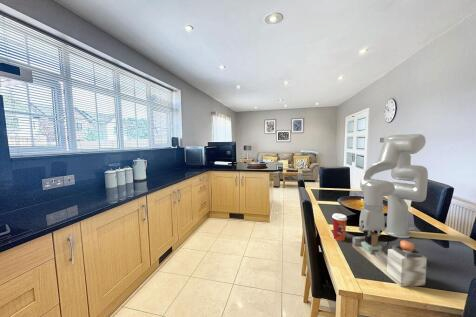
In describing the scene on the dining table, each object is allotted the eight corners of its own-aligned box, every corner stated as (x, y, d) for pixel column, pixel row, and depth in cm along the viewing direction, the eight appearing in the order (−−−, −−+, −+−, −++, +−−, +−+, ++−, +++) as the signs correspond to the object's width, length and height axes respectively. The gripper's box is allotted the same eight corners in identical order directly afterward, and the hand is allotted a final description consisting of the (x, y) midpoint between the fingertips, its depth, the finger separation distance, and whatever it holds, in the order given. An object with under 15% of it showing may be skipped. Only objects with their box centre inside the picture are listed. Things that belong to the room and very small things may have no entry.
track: (370, 245, 101) (371, 222, 100) (425, 285, 73) (427, 253, 72) (352, 246, 101) (353, 223, 100) (400, 286, 72) (402, 254, 71)
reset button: (406, 245, 77) (407, 240, 77) (416, 251, 73) (416, 245, 73) (397, 246, 77) (397, 240, 77) (406, 251, 73) (407, 245, 73)
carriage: (374, 247, 97) (374, 229, 96) (381, 252, 92) (382, 234, 91) (361, 247, 96) (361, 230, 96) (368, 253, 91) (368, 235, 91)
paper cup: (341, 243, 104) (341, 219, 103) (328, 237, 111) (329, 214, 110) (349, 239, 108) (350, 216, 107) (337, 234, 115) (337, 212, 114)
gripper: (382, 204, 96) (381, 238, 98) (351, 205, 96) (350, 239, 97) (395, 209, 89) (393, 246, 90) (362, 210, 88) (360, 247, 90)
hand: (371, 242), depth 94 cm, fingers closed on carriage, 3 cm apart
